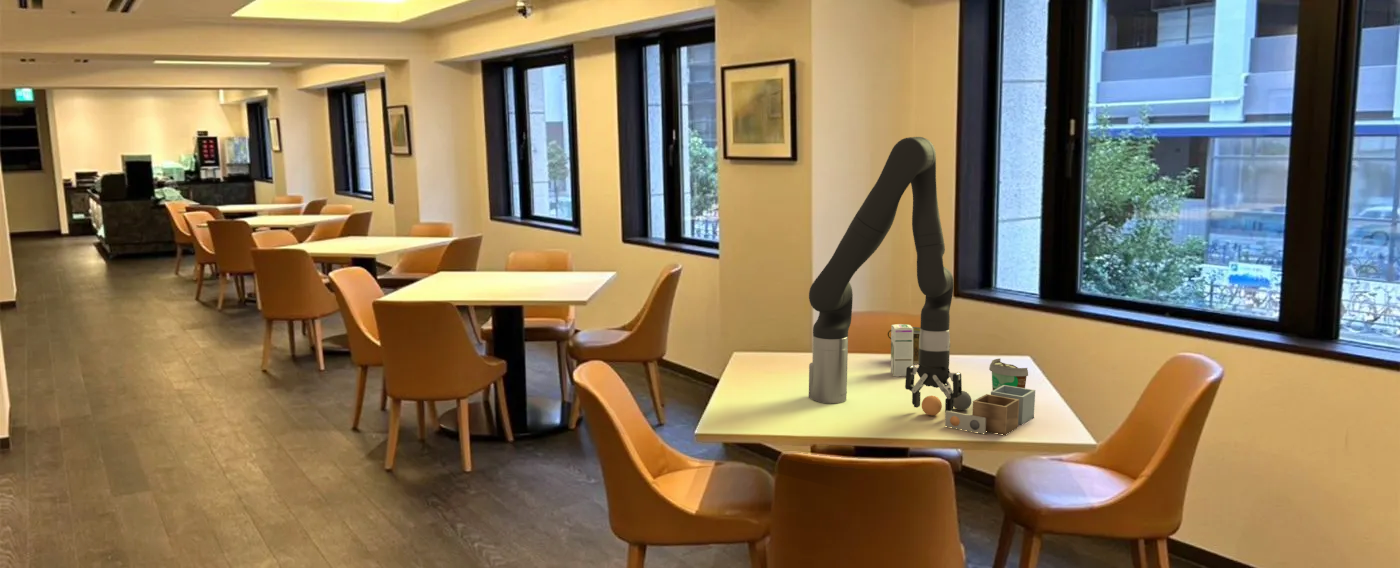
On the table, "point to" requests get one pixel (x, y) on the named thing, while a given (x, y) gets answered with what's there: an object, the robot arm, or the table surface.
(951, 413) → the card
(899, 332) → the syrup box
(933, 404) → the orange ball
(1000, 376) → the food container
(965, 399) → the charcoal ball
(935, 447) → the table surface
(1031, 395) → the slate bin
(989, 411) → the brown bin
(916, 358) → the ceramic cup
